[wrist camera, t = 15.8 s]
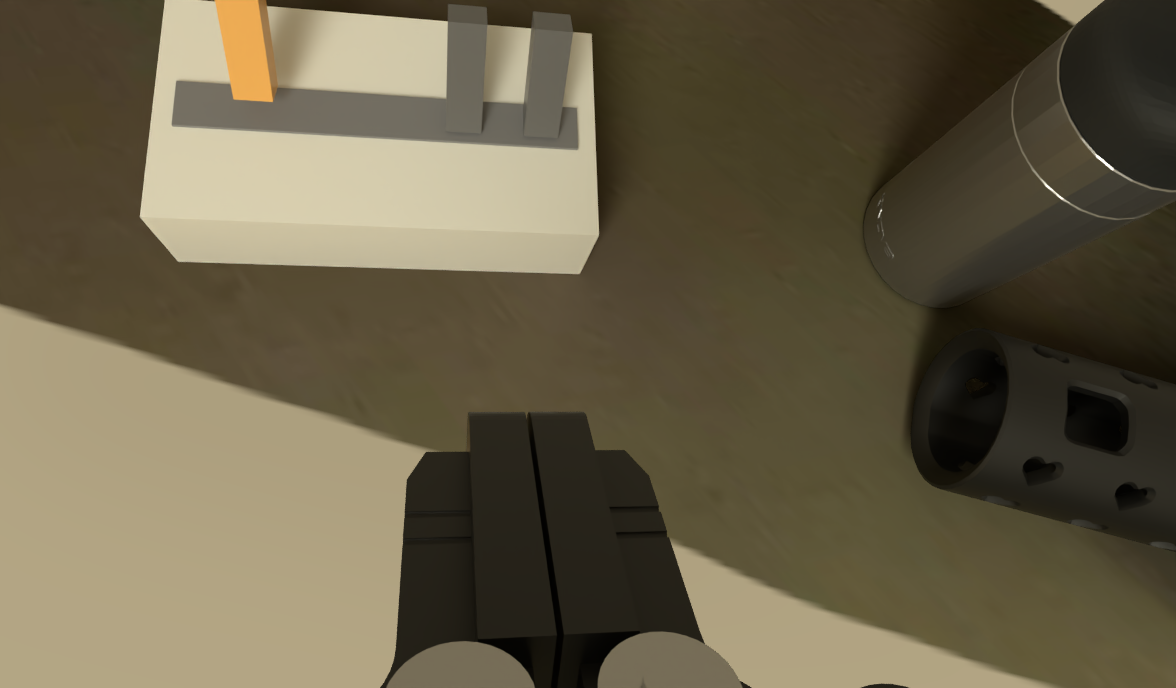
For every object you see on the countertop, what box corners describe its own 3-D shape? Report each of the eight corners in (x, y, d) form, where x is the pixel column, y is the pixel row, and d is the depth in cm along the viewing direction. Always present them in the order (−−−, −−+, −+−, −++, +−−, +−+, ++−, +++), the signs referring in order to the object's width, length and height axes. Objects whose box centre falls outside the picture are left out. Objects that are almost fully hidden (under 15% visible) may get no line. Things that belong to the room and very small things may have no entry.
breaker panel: (574, 92, 51) (613, -41, 40) (579, 274, 48) (623, 186, 37) (198, 65, 47) (122, -91, 36) (178, 261, 44) (89, 158, 33)
